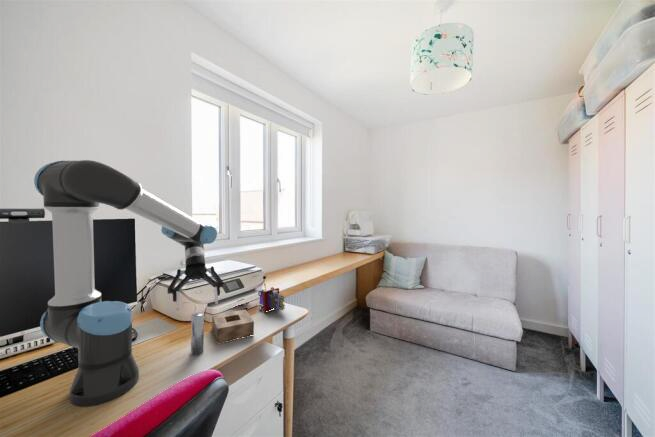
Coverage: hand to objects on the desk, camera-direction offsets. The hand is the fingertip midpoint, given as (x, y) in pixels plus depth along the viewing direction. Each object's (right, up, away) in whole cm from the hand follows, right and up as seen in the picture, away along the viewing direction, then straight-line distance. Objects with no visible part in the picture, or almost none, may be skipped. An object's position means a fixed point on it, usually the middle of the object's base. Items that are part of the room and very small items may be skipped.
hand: (198, 305), depth 100 cm
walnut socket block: (+10, -14, +9) cm, 19 cm away
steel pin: (+3, -15, -7) cm, 16 cm away
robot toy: (+21, -14, +33) cm, 41 cm away
